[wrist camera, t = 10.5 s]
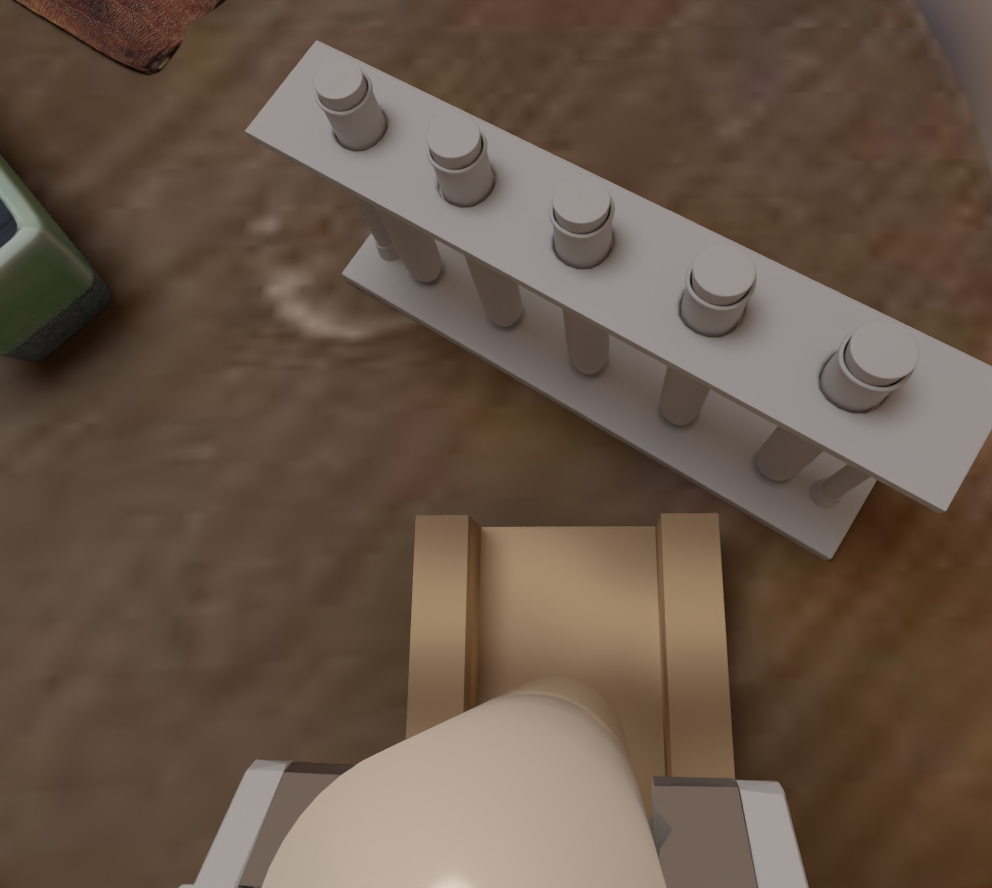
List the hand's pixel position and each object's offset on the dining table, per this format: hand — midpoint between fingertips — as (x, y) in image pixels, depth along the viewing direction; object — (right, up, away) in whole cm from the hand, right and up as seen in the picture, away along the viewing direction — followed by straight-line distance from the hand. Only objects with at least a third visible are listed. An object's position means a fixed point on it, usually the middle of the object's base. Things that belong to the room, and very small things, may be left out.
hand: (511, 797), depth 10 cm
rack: (+3, -6, +20) cm, 21 cm away
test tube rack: (+4, +8, +24) cm, 26 cm away
